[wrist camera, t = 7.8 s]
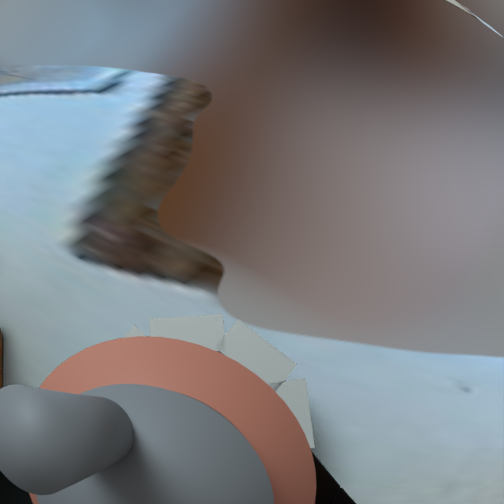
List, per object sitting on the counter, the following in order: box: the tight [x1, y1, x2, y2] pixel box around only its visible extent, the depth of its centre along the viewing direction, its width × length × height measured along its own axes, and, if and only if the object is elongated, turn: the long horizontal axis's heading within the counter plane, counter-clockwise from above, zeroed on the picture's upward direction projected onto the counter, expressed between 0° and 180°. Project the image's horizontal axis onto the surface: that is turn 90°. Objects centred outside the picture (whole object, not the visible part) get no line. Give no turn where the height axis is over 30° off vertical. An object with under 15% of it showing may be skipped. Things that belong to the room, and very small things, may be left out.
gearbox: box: [123, 314, 315, 449], centre depth 14 cm, size 21×12×5 cm, turn 7°
